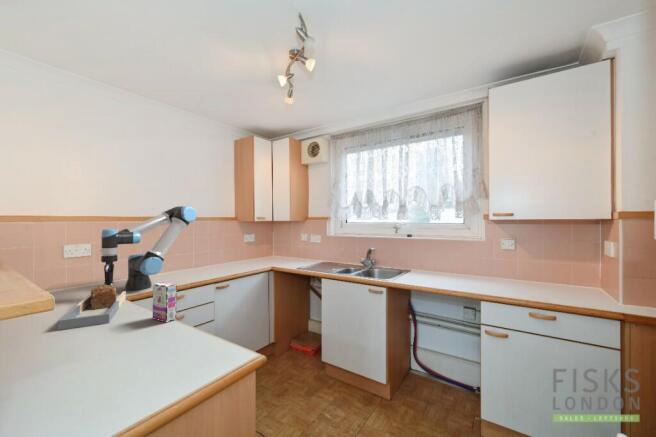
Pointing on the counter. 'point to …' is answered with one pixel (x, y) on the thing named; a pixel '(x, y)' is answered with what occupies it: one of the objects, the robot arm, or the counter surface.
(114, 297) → the bread
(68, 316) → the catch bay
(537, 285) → the counter surface
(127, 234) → the robot arm
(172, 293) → the candy bar box
